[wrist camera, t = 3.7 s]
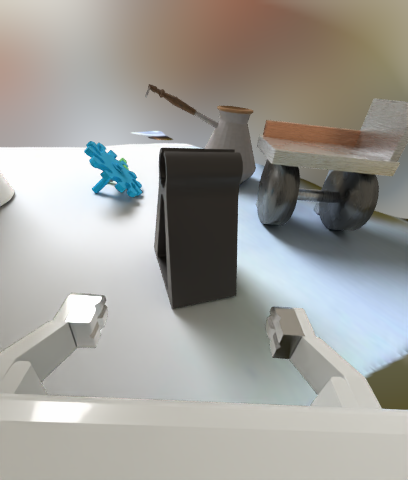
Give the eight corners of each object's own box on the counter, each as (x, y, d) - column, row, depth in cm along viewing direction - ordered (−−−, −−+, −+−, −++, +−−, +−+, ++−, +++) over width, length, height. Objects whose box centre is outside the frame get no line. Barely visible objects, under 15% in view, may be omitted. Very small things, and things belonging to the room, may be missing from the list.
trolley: (257, 235, 32) (296, 88, 23) (245, 201, 41) (269, 85, 31) (364, 244, 33) (444, 106, 24) (330, 209, 42) (378, 99, 32)
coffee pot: (244, 171, 55) (259, 95, 47) (259, 190, 46) (281, 100, 38) (149, 165, 52) (147, 82, 44) (145, 184, 43) (141, 84, 34)
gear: (138, 199, 34) (79, 140, 30) (109, 225, 35) (50, 171, 31) (150, 182, 43) (107, 135, 40) (128, 202, 45) (84, 159, 41)
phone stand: (235, 297, 22) (267, 169, 16) (171, 310, 20) (177, 169, 14) (204, 243, 29) (217, 138, 23) (154, 248, 27) (152, 135, 21)
